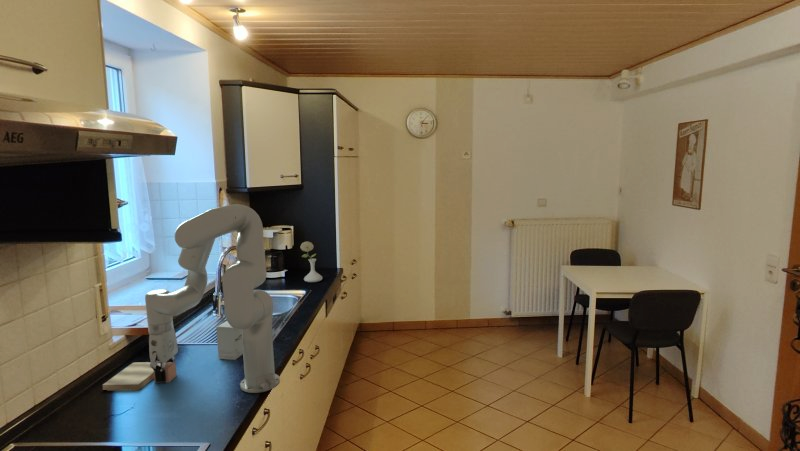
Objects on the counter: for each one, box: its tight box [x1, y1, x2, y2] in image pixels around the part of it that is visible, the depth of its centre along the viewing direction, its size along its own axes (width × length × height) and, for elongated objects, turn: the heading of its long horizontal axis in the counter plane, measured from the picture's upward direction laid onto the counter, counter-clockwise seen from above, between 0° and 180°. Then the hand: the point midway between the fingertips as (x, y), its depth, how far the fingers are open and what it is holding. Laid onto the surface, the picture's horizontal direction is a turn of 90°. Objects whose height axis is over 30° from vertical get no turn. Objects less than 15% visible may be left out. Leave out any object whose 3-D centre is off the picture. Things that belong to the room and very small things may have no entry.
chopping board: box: [102, 361, 160, 391], centre depth 161 cm, size 17×12×2 cm
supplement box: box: [215, 320, 243, 361], centre depth 177 cm, size 7×7×13 cm
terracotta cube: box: [153, 361, 177, 383], centre depth 159 cm, size 5×5×5 cm
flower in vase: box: [300, 241, 323, 283], centre depth 286 cm, size 13×11×25 cm
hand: (165, 376), depth 160 cm, fingers open, 5 cm apart
